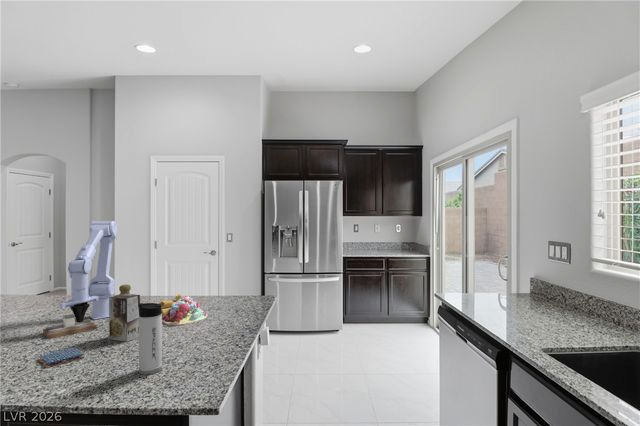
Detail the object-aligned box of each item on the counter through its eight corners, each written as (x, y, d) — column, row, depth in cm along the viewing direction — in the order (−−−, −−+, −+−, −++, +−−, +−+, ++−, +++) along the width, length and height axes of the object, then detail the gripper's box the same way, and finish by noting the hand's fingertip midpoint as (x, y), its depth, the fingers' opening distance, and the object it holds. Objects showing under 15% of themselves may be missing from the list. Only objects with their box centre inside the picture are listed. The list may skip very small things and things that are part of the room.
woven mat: (75, 351, 123) (75, 345, 123) (85, 359, 116) (85, 353, 116) (37, 361, 114) (37, 354, 114) (46, 370, 108) (46, 363, 108)
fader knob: (72, 324, 145) (72, 314, 145) (75, 326, 142) (75, 316, 142) (63, 326, 143) (63, 315, 143) (65, 328, 140) (65, 317, 140)
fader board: (89, 323, 152) (89, 318, 152) (96, 329, 145) (96, 322, 145) (42, 333, 140) (43, 326, 140) (48, 339, 133) (48, 332, 133)
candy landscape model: (139, 321, 156) (139, 300, 157) (178, 308, 178) (178, 290, 178) (184, 328, 147) (184, 306, 147) (219, 313, 169) (219, 294, 169)
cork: (125, 308, 178) (125, 286, 178) (115, 307, 179) (115, 285, 179) (134, 305, 184) (134, 283, 184) (124, 304, 185) (124, 283, 185)
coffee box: (141, 336, 136) (141, 294, 136) (126, 342, 130) (126, 298, 130) (122, 334, 139) (123, 292, 139) (108, 339, 133) (108, 296, 133)
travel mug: (142, 366, 109) (142, 301, 109) (164, 365, 110) (164, 300, 110) (133, 375, 103) (134, 306, 103) (157, 374, 104) (157, 306, 104)
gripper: (90, 284, 153) (90, 316, 153) (54, 291, 140) (54, 325, 140) (101, 286, 151) (101, 318, 151) (66, 292, 137) (65, 328, 137)
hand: (79, 322), depth 145 cm, fingers closed
